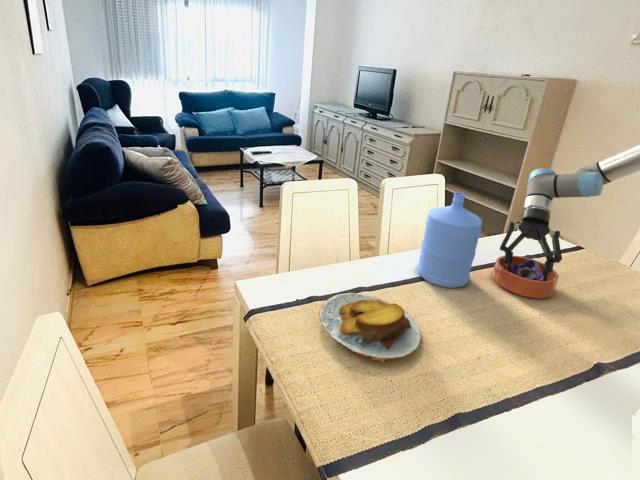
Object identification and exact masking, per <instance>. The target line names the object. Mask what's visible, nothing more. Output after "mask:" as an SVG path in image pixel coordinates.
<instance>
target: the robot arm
mask: <svg viewBox="0 0 640 480" xmlns="http://www.w3.org/2000/svg"><path fill="white" fill-rule="evenodd" d="M638 172H640V143H638V144H635V145H633V146H630V147H629V148H626V149H624V150H621V151H620V152H617V153H614V154H613V155H612V154H611V155H610V156H608V157H605V158H603V159H601V160H599V161H597V162H594V163H592V164H589V165H586V166H584V167H582V168H579V169H578V170H576V171H575V172H573V173H564V174H562V173H561V174H557V173H556V172H555V171H554V169H551V168H545V167H542V168H541V167H540V168H535V169H533V170H532V171H531V172H530V173H529V177H528V181H527V185H526V191H525V197H524V202H523V209H522V214H521V218H520V222H519V223H515V222H514V221H511V222H509V224H508V231H507V232H506V234H505V236H504V238H503V240H502V242H501V244H500V246H499V250H500V251H502V252H503V253H504V256H505V257H504V262H506V263H507V268H506V270H507V271H509V272H510V268H511V262H512V257H513V256H514V252H513V251H514V249H515V248H516V247H517V246H519V244H520V243H521V242H522V241H523V240H524V239H528V240H533V241H537V242H538V244H539V245H540V247H541V250H542V253H543V255H544V256H545V257H544V258H545V259H546V260H545V262H544V270H543V276H544V280H543V281H547V277H548V272H549V273H551V272H552V270H554V264H559V263H560V262H561V261H562V260H563V256H562V250H561V244H560V235H561V231H560V230H552V229H551V228H550V219H551V213H552V205H553V200H554V199H560V198H591V197H598V196H600V195H602V193H603V189H604V186H605V185H607V184H609V183H611V182H615V181H616V180H619V179H620V180H621V179H622V178H624V177H627V176H630V175H633V174H635V173H638ZM517 229H518V230H519V232H520V234H519V235H518V236H517V237H516V238H515V239H514V240H513V241H512V242H511V244H510V245H508V246H507V244H508V242H509V240H510V238H511V236H512V234H513V232H514V231H516V230H517ZM547 235H549V236H550V238H551V245H552V250H551V248H550V245H549V243H548V241H547V237H546V236H547ZM552 251H553V252H552Z"/></svg>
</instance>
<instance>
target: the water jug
mask: <svg viewBox="0 0 640 480" xmlns="http://www.w3.org/2000/svg"><path fill="white" fill-rule="evenodd" d="M465 197H466V194H465V193H463V192H454V193H453V197H452V202H451V205H446V206H440V207H435V208H432V209H430V210H429V211H428V213H427V216H426V219H425V229H424V234H423V239H422V241H421V247H420V249H421V250H420V254H419V258H418V262H417V267H416V269H417V273H418V275H420V277H421V278H422V279H424V280H425V281H427V282H429V283H431V284H432V285H435V286H438V287H443V288H448V289H449V288H453V289H454V288H455V289H456V288H461V287H464V286H466V285H467V284H468V283H469V280H470V276H471V271H472V266H473V262H474V259H475V256H476V253H477V252H476V250H477V245H478V242H479V238H480V235H481V233H482V226H483V220H482V219H481V218H480V217H479V216H478V215H476V214H475V213H473V212H471V211H469V210H468V209H466V208H464V203H465Z"/></svg>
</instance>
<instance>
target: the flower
mask: <svg viewBox="0 0 640 480" xmlns="http://www.w3.org/2000/svg"><path fill="white" fill-rule="evenodd" d="M529 259H530V260H527V261H523V263H522V264H518V265H514V266H512V267H511V268H510V273H512V274H515V275H517V276H519V277H523V278H526V279H530V280H536V281H543V280H544V276H543V274H542V271H541V269H540V266H539V264H538V263H537V262H536V261H537V260H536V259H533V258H529ZM535 260H536V261H535Z"/></svg>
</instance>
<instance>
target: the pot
mask: <svg viewBox="0 0 640 480" xmlns="http://www.w3.org/2000/svg"><path fill="white" fill-rule="evenodd" d="M504 257H505V255H501V256H499V257H497V259H496V260H495V264H494V268H493V271H492V274H491V275H492V279H493V281H494V282H495V283H496V284H497V285H499V286H500V287H501V288H503V289H505V290H507V291H508V292H511V293H513V294H516V295H519V296H523V297H527V298H532V299H545V298H549V297H551V296H553V295H554V292H555V289H556V286H557V284H558V281H559V274H558V272H557V271H556V270H555V269H553V270H552V272H551V273H549V272H548V277H547V281H536V280H530V279H526V278H523V277H519V276H517V275H515V274H512V273H510V272H509V271H507V270H506V268H507V263H506V262H504ZM530 259H531V258H529V257H525V256H520V255H513V257H512V262H511V267H512V266H514V265H518V264H522V263H523V261H527V260H530ZM534 260H535V261H536V262H537V263H538V264H539V266H540V269H541V271H542V274H543V270H544V264H545V262H544V263H543V262H541V261H539V260H536V259H534Z"/></svg>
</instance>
